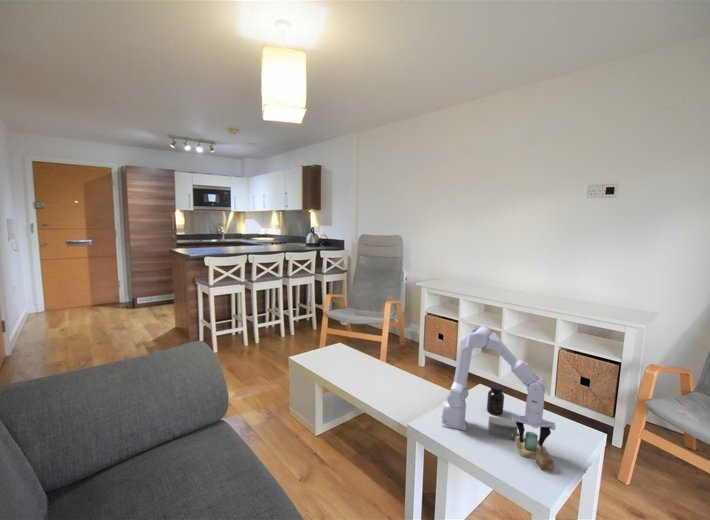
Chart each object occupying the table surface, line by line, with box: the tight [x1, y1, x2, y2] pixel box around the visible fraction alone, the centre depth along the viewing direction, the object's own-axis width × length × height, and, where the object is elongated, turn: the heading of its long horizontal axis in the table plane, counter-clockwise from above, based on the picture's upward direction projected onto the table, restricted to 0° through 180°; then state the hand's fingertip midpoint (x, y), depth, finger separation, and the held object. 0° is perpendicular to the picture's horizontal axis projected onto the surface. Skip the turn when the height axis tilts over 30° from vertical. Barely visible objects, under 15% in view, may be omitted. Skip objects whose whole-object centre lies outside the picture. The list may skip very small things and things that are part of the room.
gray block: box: [487, 415, 518, 440], centre depth 143 cm, size 10×5×5 cm, turn 75°
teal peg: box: [524, 431, 539, 452], centre depth 133 cm, size 4×4×6 cm
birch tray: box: [514, 435, 547, 460], centre depth 133 cm, size 9×9×2 cm
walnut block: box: [535, 451, 555, 471], centre depth 125 cm, size 4×4×4 cm
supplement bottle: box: [486, 383, 505, 417], centre depth 158 cm, size 7×7×12 cm
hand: (530, 443), depth 133 cm, fingers open, 6 cm apart
